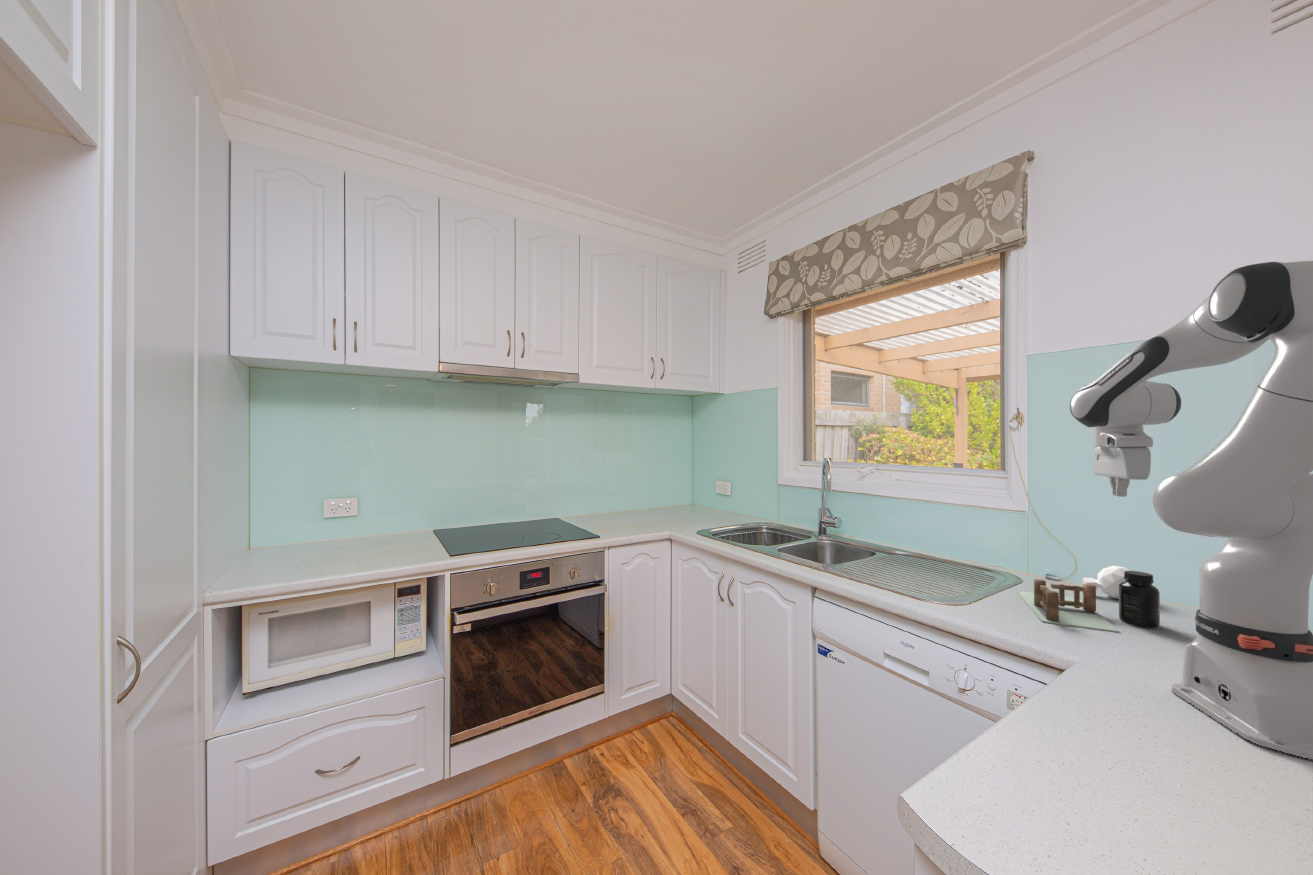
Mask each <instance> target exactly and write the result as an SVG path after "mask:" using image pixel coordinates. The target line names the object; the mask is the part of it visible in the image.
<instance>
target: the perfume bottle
mask: <svg viewBox="0 0 1313 875" xmlns="http://www.w3.org/2000/svg"><path fill="white" fill-rule="evenodd" d="M1125 571H1132V570H1130V569H1129V568H1127V567H1124V566H1118V565H1111V566H1108V567H1104V568H1102V569H1101V570H1100V571H1099V572H1098V573H1097V574H1096V575H1097V577H1096V578H1097V579H1095V578H1094V577H1082V585H1083V584H1090V585H1094V586H1096V591H1098V589H1100V590H1101V592H1102V593H1104V594H1105V595H1107V596H1108V597H1110V598H1111V599H1117V600H1119V584H1120V583H1121V582H1124V581H1126V580H1125V579H1124V572H1125Z"/></svg>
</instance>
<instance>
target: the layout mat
mask: <svg viewBox="0 0 1313 875" xmlns="http://www.w3.org/2000/svg"><path fill="white" fill-rule="evenodd" d="M1016 593H1017V595H1018V596H1019V597H1020V598H1021V599H1022V601H1023V602H1024V603H1025V604H1026V605H1027V606H1028V607H1029V609H1030V610H1031V611H1032V612H1033V613H1034V615H1035V616H1036V617H1037V618H1038V620H1039V621H1040V622H1041V623H1045V624H1047V623H1048V624H1051V625H1052V624H1054V625H1061V626H1069V627H1076V628H1083V629H1089V630H1090V629H1092V630H1098V631H1105V632H1113V633H1120V632H1121V631H1120V630H1119V629H1117V628H1116V627H1115V626H1114V625H1113V624H1112V623H1111V622H1109V621H1108V620H1106V619H1105V618H1104V617H1103V616H1102V615H1101V614H1099V613H1098V612H1097V611H1096V612H1091V611H1087V610H1084V609H1083V607H1080V608H1075V607H1074V606H1067V605H1065V607H1063V606H1059V621H1057V622H1054V621H1050V620H1048V619H1046V610H1045V609H1043V607H1038V606H1035V605H1034V592H1030V591H1022V590H1021V591H1018V590H1016ZM1065 600H1066V601H1074V596H1073V597H1072V596H1065ZM1080 602H1083V599H1081V598H1080Z"/></svg>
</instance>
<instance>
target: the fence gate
mask: <svg viewBox="0 0 1313 875" xmlns="http://www.w3.org/2000/svg"><path fill="white" fill-rule="evenodd" d="M1050 588H1051V589H1053V590H1054V589H1055V590H1058V593H1059V606H1063V607H1065V605H1067V606H1074V607H1075V608H1080V607H1083V609H1084V610H1087V611H1091V612H1097V590H1096V586H1094V585H1090V584H1083V583H1082V586H1081V585H1080V586H1079V585H1070V584H1069V585H1068V584H1063V583H1050ZM1065 591H1073V597H1074V601H1066V600H1065V597H1066V595H1065V594H1066V593H1065ZM1081 592H1082V600H1083V602H1080V599H1081V596H1080V593H1081Z"/></svg>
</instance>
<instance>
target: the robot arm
mask: <svg viewBox="0 0 1313 875" xmlns="http://www.w3.org/2000/svg"><path fill="white" fill-rule="evenodd" d="M1269 340H1271V343H1272V344H1273V345H1274V349H1275V350H1274V356H1273V358H1272V360H1271V363H1269V366H1268V367H1267V369H1266V371H1265V372H1264V374H1263V376H1262V377H1261V379H1260V381H1259V382H1258V385H1257V386H1256V388H1255V390H1254V392H1253V393H1252V395H1251V397H1250V399H1249V401H1248V402H1247V404H1246V406H1245V408H1244V409H1243V412H1242V413H1241V414H1240V416H1239V418H1238V420H1237V421H1236V423H1235V424H1234V426H1233V427H1232V429H1231V430H1230V431H1229V432H1228V433H1227V435H1226V436H1225V437H1224V438H1223V439H1222V440H1221V441H1220V442H1219V443H1218V444H1216V446H1214V448H1212V449H1211V450H1210V451H1209V452H1208V453H1207V454H1205V455H1204V456H1203V457H1202V458H1200V459H1199V460H1198V461H1196V462H1195V463H1193V465H1191V466H1189V467H1188V468H1186V469H1185V470H1183V471H1181V472H1179V473H1177V474H1174V475H1172V476H1169V477H1167V478H1165V479H1164V480H1162V481H1161V482H1160V483H1159V484H1158V485H1157V486H1156V488H1155V490H1154V492H1153V494H1152V504H1153V505H1152V506H1153V509H1154V511H1155V513H1156V515H1157V516H1158V517H1159V519H1160V520H1161V522H1162V523H1164V524H1165V525H1166V526H1168V527H1169V528H1171V529H1173V530H1175V531H1179V532H1181V533H1182V532H1183V533H1187V534H1192V535H1197V536H1203V537H1209V538H1215V539H1217V538H1224V539H1225V538H1227V540H1226V543H1224V545H1223V547H1222V548H1221V550H1219V552H1218V553H1217V554H1216V555H1214V556H1212V557H1211V558H1210V559H1208V560H1206V561H1205V562H1204V563H1203V564H1202V565H1201V567H1200V569H1199V573H1198V574H1199V583H1198V584H1199V609H1197V610H1196V612H1195V617H1194V622H1195V631H1196V632H1197V636H1196V637H1195V638H1194V639H1193V640H1192V641H1191V642H1190V643H1188V644H1187V645H1185V648H1184V657H1183V658H1184V659H1183V669H1182V675H1181V677H1182V678H1181V679H1182V680H1181V683H1174V684H1172V685H1171V692H1172V693H1174V694H1175V695H1176V696H1177V697H1180V698H1181V699H1183V700H1184V701H1185V702H1187V703H1188V704H1190V703H1191V704H1190V705H1191V706H1193V705H1194V706H1193V707H1195V708H1196V707H1197V708H1196V709H1198V710H1199V709H1200V710H1199V711H1201V712H1202V711H1203V713H1204V714H1205V715H1206V716H1208V717H1210V716H1211V717H1210V718H1211V719H1213V720H1215V721H1216V722H1218V723H1219V722H1220V723H1219V724H1221V723H1222V724H1223V727H1225V726H1226V727H1225V728H1227V727H1228V728H1229V729H1228V728H1227V729H1228V730H1230V729H1231V730H1232V732H1233V733H1235V734H1236V733H1238V734H1239V735H1241V736H1242V737H1243V739H1244V738H1245V739H1248V740H1250V741H1252V742H1255V743H1257V744H1260V745H1263V746H1266V747H1269V748H1272V749H1275V750H1278V751H1277V752H1279V751H1282V752H1286V753H1289V754H1294V755H1296V756H1295V757H1297V756H1300V757H1299V758H1301V757H1303V758H1302V759H1305V758H1310V759H1313V632H1312V631H1311V630H1310V629H1309V606H1310V605H1309V602H1310V586H1311V581H1312V579H1313V473H1311V472H1313V260H1305V261H1304V260H1301V261H1291V262H1281V261H1268V262H1259V263H1254V264H1249V265H1245V266H1241V267H1238V268H1236V269H1233V270H1231V271H1230V272H1229V273H1227V274H1226V275H1225V276H1223V277H1222V279H1221V280H1219V281H1218V283H1216V284H1215V286H1214V287H1213V289H1212V291H1211V293H1210V295H1209V296H1208V297H1207V298H1205V299H1204V300H1203V301H1202V302H1201V303H1200V304H1199V305H1198V306H1197V307H1196V308H1195V309H1194V310H1193V311H1192V312H1190V313H1189V314H1188V315H1187V316H1186V317H1184V318H1183V319H1181V320H1180V321H1179V322H1177V323H1176V324H1174V325H1172V326H1171V327H1170V328H1168V329H1167V330H1165V331H1162V332H1161V333H1159V334H1158V335H1157V334H1156V336H1154V337H1151V338H1149V339H1148V340H1146V341H1143V342H1142V343H1140V344H1139V345H1137V346H1136V347H1135V348H1133V349H1132V350H1131V351H1129V352H1128V353H1126V354H1125V355H1124V356H1123V357H1122V358H1120V360H1118V361H1117V362H1116V363H1115V364H1113V365H1112V366H1111V367H1110V368H1108V369H1107V370H1106V371H1105V372H1104V373H1103V374H1101V375H1100V376H1099V377H1098V378H1096V379H1095V380H1093V381H1092V382H1090V383H1087V384H1084V385H1083V386H1082V387H1081V388H1079V389H1078V390H1077V391H1076V392H1075V394H1073V396H1072V398H1071V400H1070V404H1069V410H1070V414H1071V416H1072V417H1073V418H1074V419H1075V420H1076V421H1077V422H1079V423H1080V424H1082V425H1084V426H1085V427H1088V428H1092V438H1093V440H1092V444H1093V447H1094V450H1093V459H1092V460H1093V461H1092V471H1093V473H1094V476H1101V477H1108V482H1109V485H1110V488H1111V494H1112V496H1116V497H1124V498H1125V497H1127V496H1128V489H1129V485H1130V480H1134V481H1135V480H1137V481H1138V480H1139V481H1140V480H1142V481H1143V480H1144V481H1145V480H1148V478H1149V476H1150V474H1151V465H1152V464H1151V462H1152V460H1151V458H1152V455H1151V450H1150V448H1152V447H1153V445H1154V440H1153V438H1152V437H1151V436H1149V435H1148V434H1147V433H1146V432H1144V426H1147V425H1148V426H1149V425H1153V426H1154V425H1160V424H1166V423H1169V422H1170V421H1172V420H1173V419H1174V418H1175V417H1177V416H1178V415H1179V413H1180V411H1181V408H1182V398H1181V395H1180V393H1179V391H1178V390H1177V389H1176V388H1175V387H1174V386H1172V385H1171V384H1169V383H1163V382H1161V383H1160V382H1156V381H1151V380H1150V379H1152V378H1154V377H1157V376H1161V375H1165V374H1169V373H1173V372H1180V371H1184V370H1185V371H1186V370H1192V369H1197V368H1198V369H1199V368H1206V367H1213V366H1220V365H1225V364H1228V363H1229V364H1230V363H1232V362H1234V361H1237V360H1238V359H1241V358H1243V357H1245V356H1247V355H1249V354H1251V353H1253V352H1254V351H1256V350H1257V349H1259V348H1261V346H1263V345H1264V344H1265V343H1267V341H1269ZM1149 380H1150V381H1149ZM1222 724H1221V725H1222ZM1231 730H1230V731H1231ZM1238 734H1237V735H1238ZM1239 735H1238V736H1239ZM1241 736H1240V737H1241ZM1242 737H1241V738H1242ZM1245 739H1244V740H1245ZM1257 744H1256V745H1257ZM1260 745H1259V746H1260ZM1263 746H1262V747H1263ZM1266 747H1265V748H1266ZM1269 748H1268V749H1269ZM1272 749H1271V750H1272ZM1275 750H1274V751H1275ZM1282 752H1281V753H1282ZM1286 753H1285V754H1286ZM1289 754H1288V755H1289ZM1310 759H1309V760H1310Z"/></svg>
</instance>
